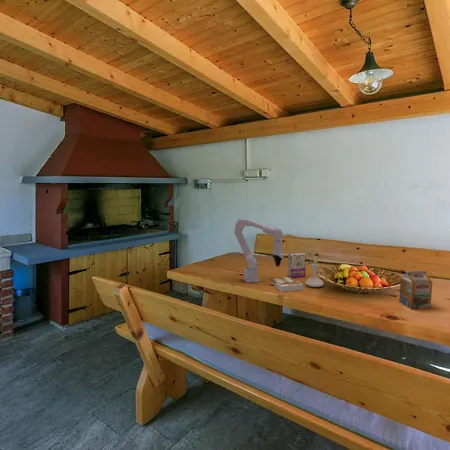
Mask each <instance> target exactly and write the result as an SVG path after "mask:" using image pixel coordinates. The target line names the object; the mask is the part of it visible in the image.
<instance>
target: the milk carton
mask: <svg viewBox="0 0 450 450" xmlns="http://www.w3.org/2000/svg"><path fill="white" fill-rule="evenodd" d="M399 284H400V285H399V301H398V302H399V303H401V304H402V305H404V306H405V307H406V306H407V307H406V308H408V309H409V308H410V309H409V310H425V309H424V308H432V307H431V306H432V295H433V294H432V293H433V292H432V291H433V281H432V280H431V278H430V276H429V275H428V274H427V271H426V270H407V271H406V273H405V274H403V275H402V276H401V277H400V283H399ZM421 308H423V309H421Z"/></svg>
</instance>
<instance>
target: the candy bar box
mask: <svg viewBox="0 0 450 450" xmlns="http://www.w3.org/2000/svg"><path fill="white" fill-rule="evenodd" d="M305 254H306V253H301V252H300V253H299V252H298V253H288V254H287V255H288V257H287V259H288V261H287V262H288V271H287V272H288V277H289V278H290V279H296V278H297V279H298V278H304V277H306V258H305V256H304V255H305Z"/></svg>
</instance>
